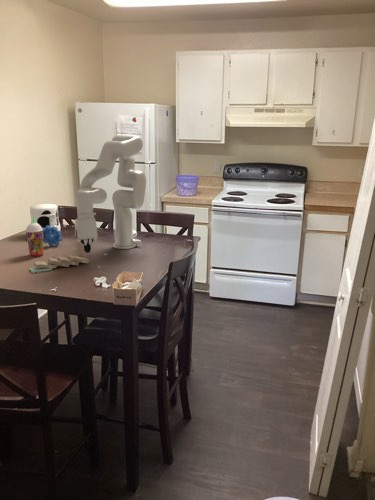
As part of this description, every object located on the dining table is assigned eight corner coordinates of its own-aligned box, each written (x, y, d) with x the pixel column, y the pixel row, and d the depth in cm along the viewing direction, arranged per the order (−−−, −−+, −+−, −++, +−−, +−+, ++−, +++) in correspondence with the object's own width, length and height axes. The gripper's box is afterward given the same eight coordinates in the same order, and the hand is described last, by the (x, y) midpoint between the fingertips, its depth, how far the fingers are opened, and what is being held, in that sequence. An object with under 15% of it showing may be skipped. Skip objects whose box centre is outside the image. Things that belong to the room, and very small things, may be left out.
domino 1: (53, 261, 209) (34, 261, 204) (56, 264, 205) (37, 264, 200) (53, 265, 209) (34, 264, 204) (56, 268, 205) (36, 267, 200)
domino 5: (84, 257, 217) (68, 255, 211) (89, 260, 214) (72, 257, 208) (84, 260, 218) (67, 258, 212) (88, 263, 214) (72, 261, 208)
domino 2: (49, 265, 208) (29, 268, 204) (52, 268, 204) (32, 271, 200) (49, 268, 209) (30, 271, 204) (52, 271, 205) (32, 274, 200)
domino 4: (75, 259, 214) (58, 256, 209) (79, 262, 210) (61, 259, 205) (74, 262, 215) (57, 259, 209) (78, 265, 211) (60, 262, 205)
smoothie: (35, 258, 220) (31, 220, 214) (24, 255, 224) (20, 218, 218) (48, 254, 227) (45, 217, 221) (37, 252, 231) (34, 215, 225)
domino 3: (66, 261, 212) (48, 257, 207) (69, 263, 208) (51, 260, 203) (65, 264, 212) (47, 260, 207) (68, 267, 208) (50, 263, 203)
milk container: (34, 232, 271) (31, 203, 265) (63, 231, 273) (61, 203, 267) (27, 239, 254) (24, 209, 249) (58, 239, 256) (56, 209, 251)
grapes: (40, 249, 236) (38, 227, 233) (40, 245, 243) (39, 224, 239) (62, 247, 240) (61, 226, 236) (62, 244, 246) (61, 223, 242)
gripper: (97, 212, 216) (98, 248, 222) (67, 216, 208) (70, 252, 214) (103, 215, 210) (104, 251, 216) (73, 219, 203) (75, 256, 208)
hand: (87, 252), depth 215 cm, fingers closed
